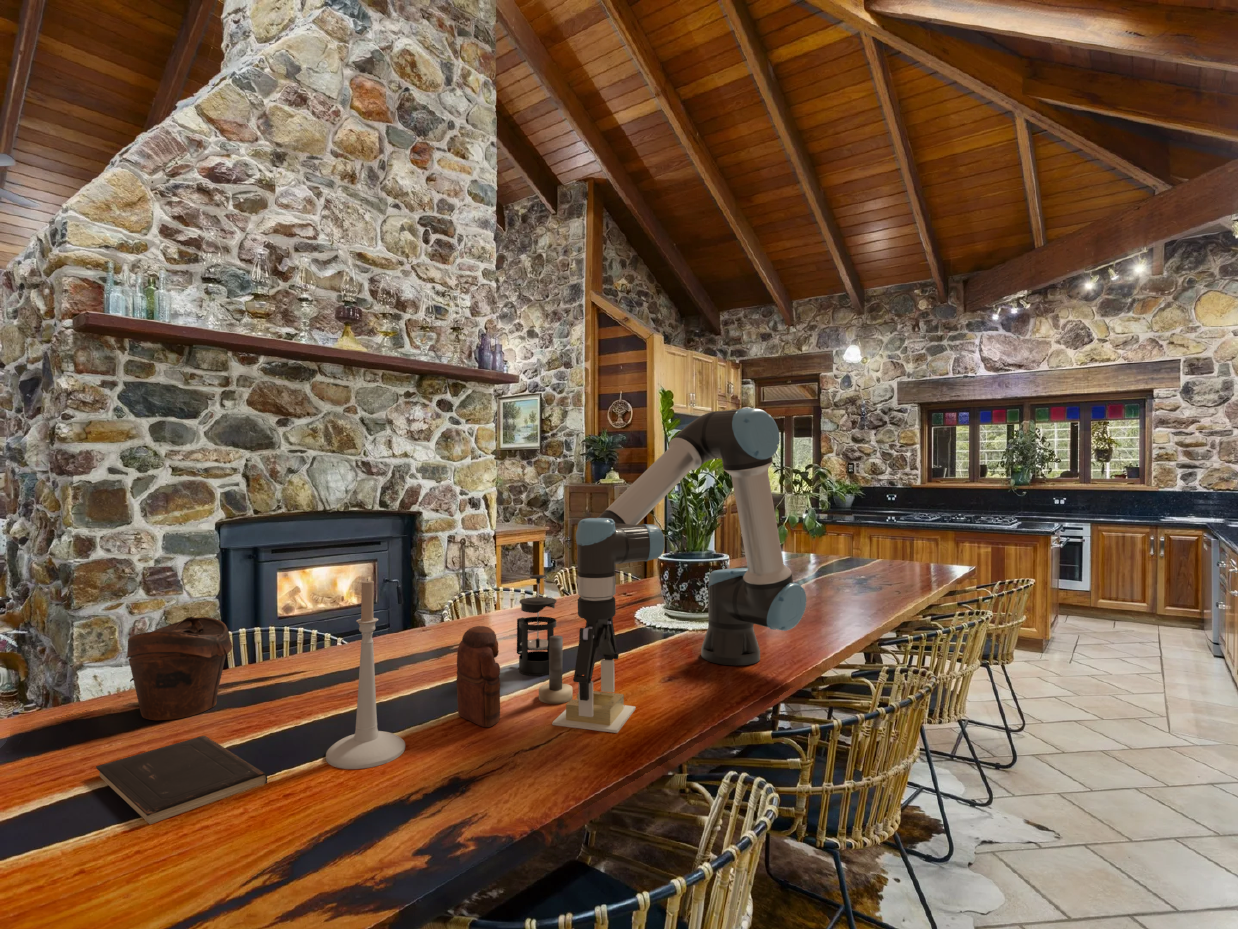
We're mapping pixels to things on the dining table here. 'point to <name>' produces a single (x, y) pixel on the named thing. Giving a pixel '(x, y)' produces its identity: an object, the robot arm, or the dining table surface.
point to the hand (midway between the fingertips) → (597, 703)
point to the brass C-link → (598, 708)
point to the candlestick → (366, 706)
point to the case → (178, 667)
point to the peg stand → (555, 676)
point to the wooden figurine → (478, 677)
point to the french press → (537, 660)
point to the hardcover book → (179, 777)
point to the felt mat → (599, 727)
